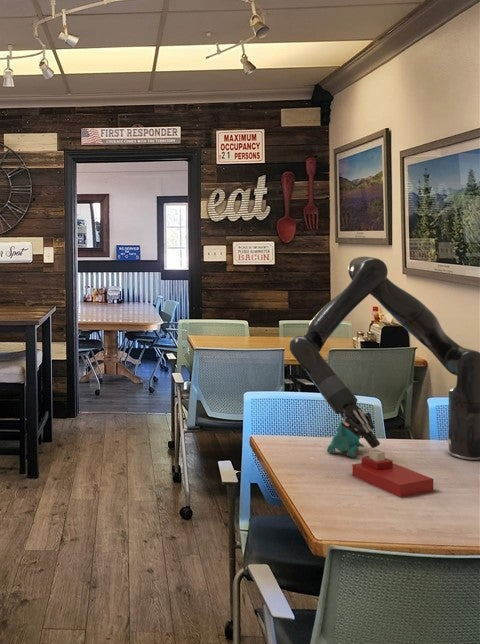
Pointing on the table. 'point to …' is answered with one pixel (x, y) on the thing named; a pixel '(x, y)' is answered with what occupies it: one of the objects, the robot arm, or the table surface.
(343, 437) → the toy
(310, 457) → the table surface
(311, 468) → the table surface
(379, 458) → the white cube
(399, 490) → the red push button box
